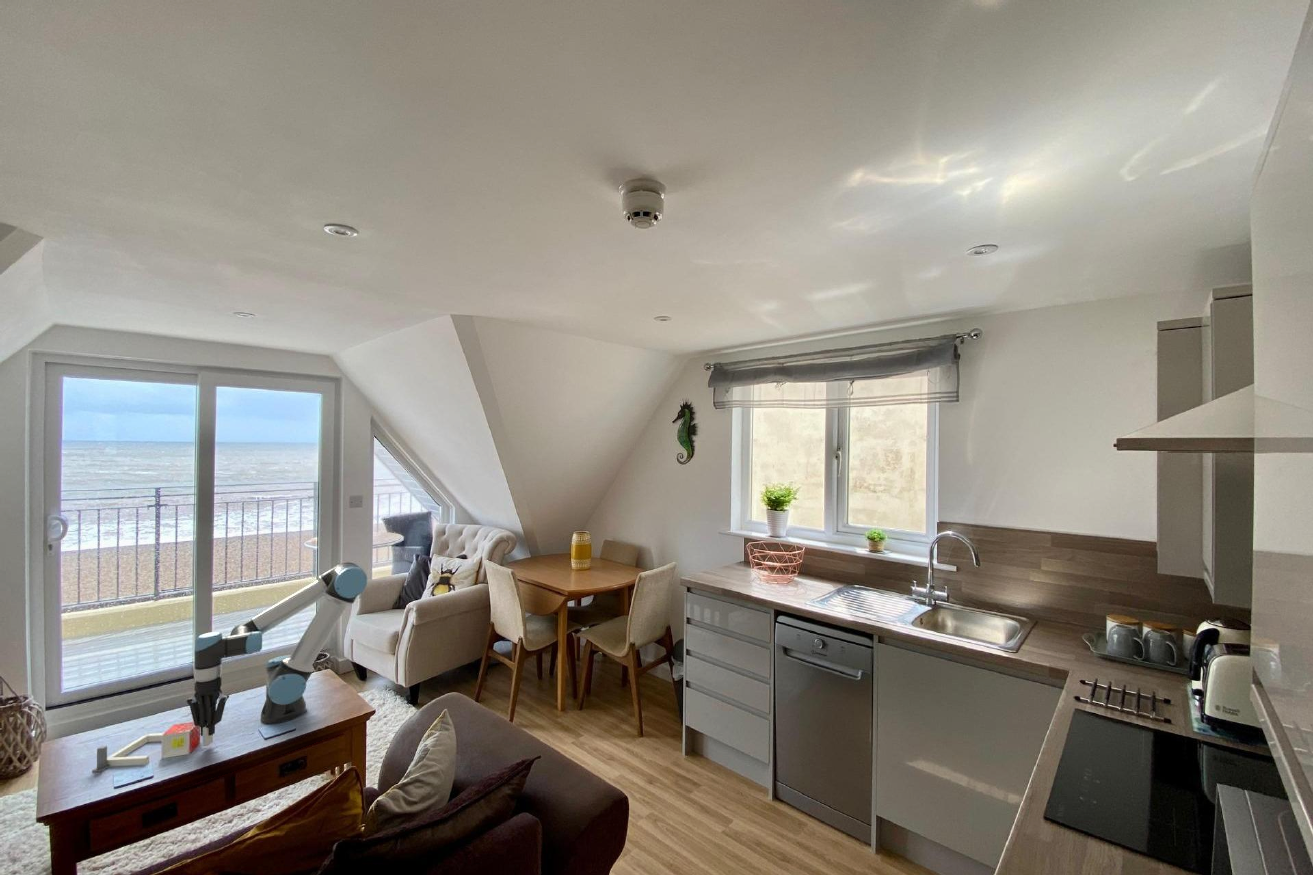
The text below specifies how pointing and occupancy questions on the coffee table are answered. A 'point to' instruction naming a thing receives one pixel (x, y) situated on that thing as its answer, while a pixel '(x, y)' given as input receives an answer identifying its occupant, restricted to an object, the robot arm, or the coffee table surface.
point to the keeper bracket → (119, 758)
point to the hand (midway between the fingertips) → (207, 743)
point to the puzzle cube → (180, 739)
